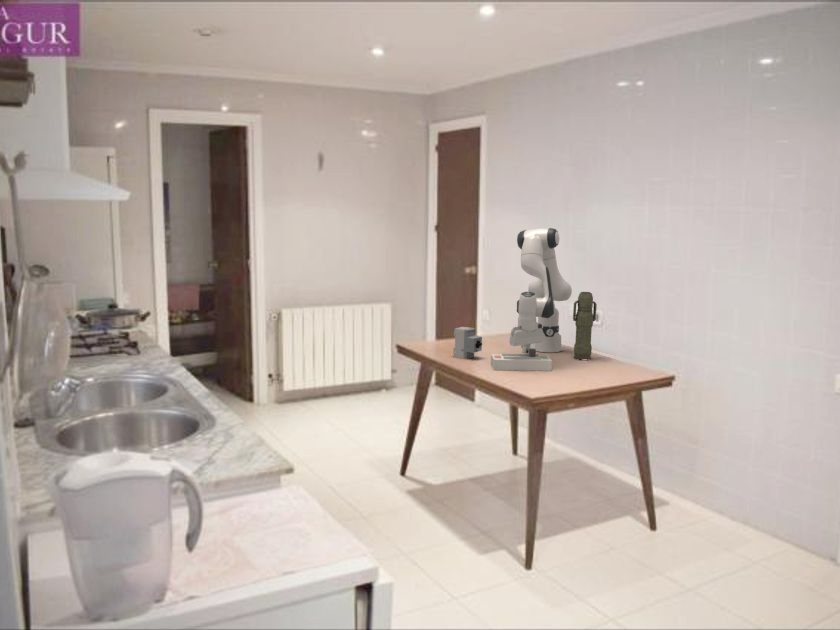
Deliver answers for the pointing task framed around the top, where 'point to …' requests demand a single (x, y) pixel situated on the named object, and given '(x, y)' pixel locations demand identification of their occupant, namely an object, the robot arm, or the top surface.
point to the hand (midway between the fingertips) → (525, 353)
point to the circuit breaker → (466, 342)
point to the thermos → (584, 325)
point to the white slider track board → (521, 362)
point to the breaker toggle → (532, 352)
